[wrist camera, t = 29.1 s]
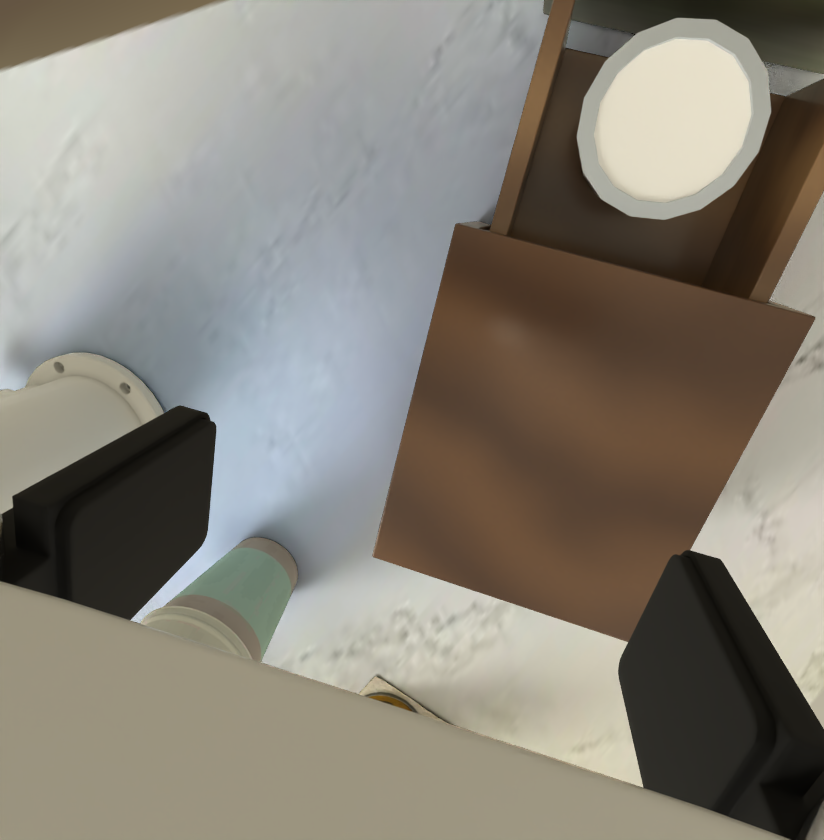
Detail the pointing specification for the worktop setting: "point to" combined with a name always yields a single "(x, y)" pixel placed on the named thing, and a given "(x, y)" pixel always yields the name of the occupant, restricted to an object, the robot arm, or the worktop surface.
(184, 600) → the coffee cup
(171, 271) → the worktop surface
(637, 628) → the robot arm
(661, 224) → the drawer
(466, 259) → the cabinet
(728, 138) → the white candle jar
